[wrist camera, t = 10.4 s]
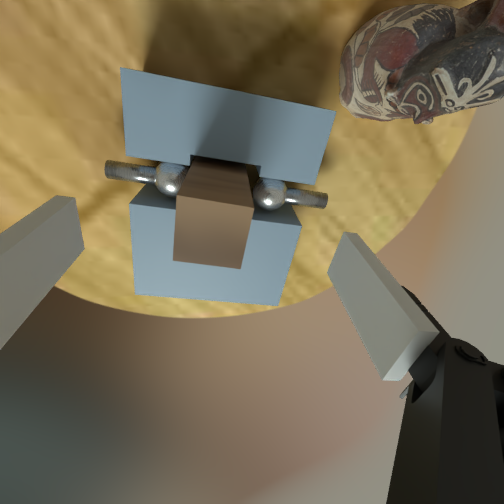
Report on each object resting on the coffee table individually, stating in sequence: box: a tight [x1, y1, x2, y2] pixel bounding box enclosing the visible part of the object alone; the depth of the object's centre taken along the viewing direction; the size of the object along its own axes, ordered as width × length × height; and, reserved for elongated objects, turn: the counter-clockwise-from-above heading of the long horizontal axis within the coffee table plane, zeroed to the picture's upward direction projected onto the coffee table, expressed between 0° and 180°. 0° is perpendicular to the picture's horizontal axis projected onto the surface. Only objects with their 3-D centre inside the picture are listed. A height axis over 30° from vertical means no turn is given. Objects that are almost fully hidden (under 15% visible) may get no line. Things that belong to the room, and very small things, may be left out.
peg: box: [173, 155, 254, 269], centre depth 20 cm, size 4×4×12 cm
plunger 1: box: [105, 160, 189, 198], centre depth 21 cm, size 3×6×3 cm, turn 80°
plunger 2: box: [253, 177, 328, 211], centre depth 23 cm, size 3×6×3 cm, turn 80°
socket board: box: [120, 67, 336, 306], centre depth 24 cm, size 18×14×5 cm
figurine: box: [339, 0, 504, 124], centre depth 16 cm, size 7×7×12 cm
